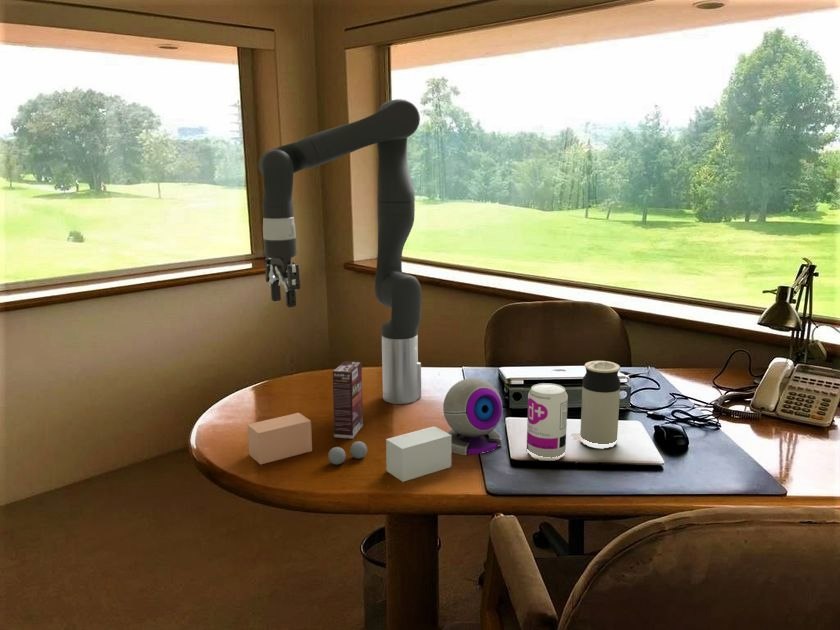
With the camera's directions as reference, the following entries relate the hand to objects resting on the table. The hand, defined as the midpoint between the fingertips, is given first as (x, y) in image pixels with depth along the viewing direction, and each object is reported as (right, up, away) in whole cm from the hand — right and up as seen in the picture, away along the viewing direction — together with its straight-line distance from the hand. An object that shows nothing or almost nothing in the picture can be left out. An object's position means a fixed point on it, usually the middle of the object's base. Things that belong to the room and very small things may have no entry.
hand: (283, 303), depth 177 cm
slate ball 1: (+15, -34, -23) cm, 44 cm away
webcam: (+44, -32, -13) cm, 56 cm away
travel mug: (+72, -31, -13) cm, 80 cm away
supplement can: (+60, -33, -19) cm, 71 cm away
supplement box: (+16, -30, -6) cm, 35 cm away
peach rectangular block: (+3, -33, -17) cm, 37 cm away
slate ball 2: (+20, -33, -20) cm, 44 cm away
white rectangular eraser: (+33, -34, -26) cm, 54 cm away
